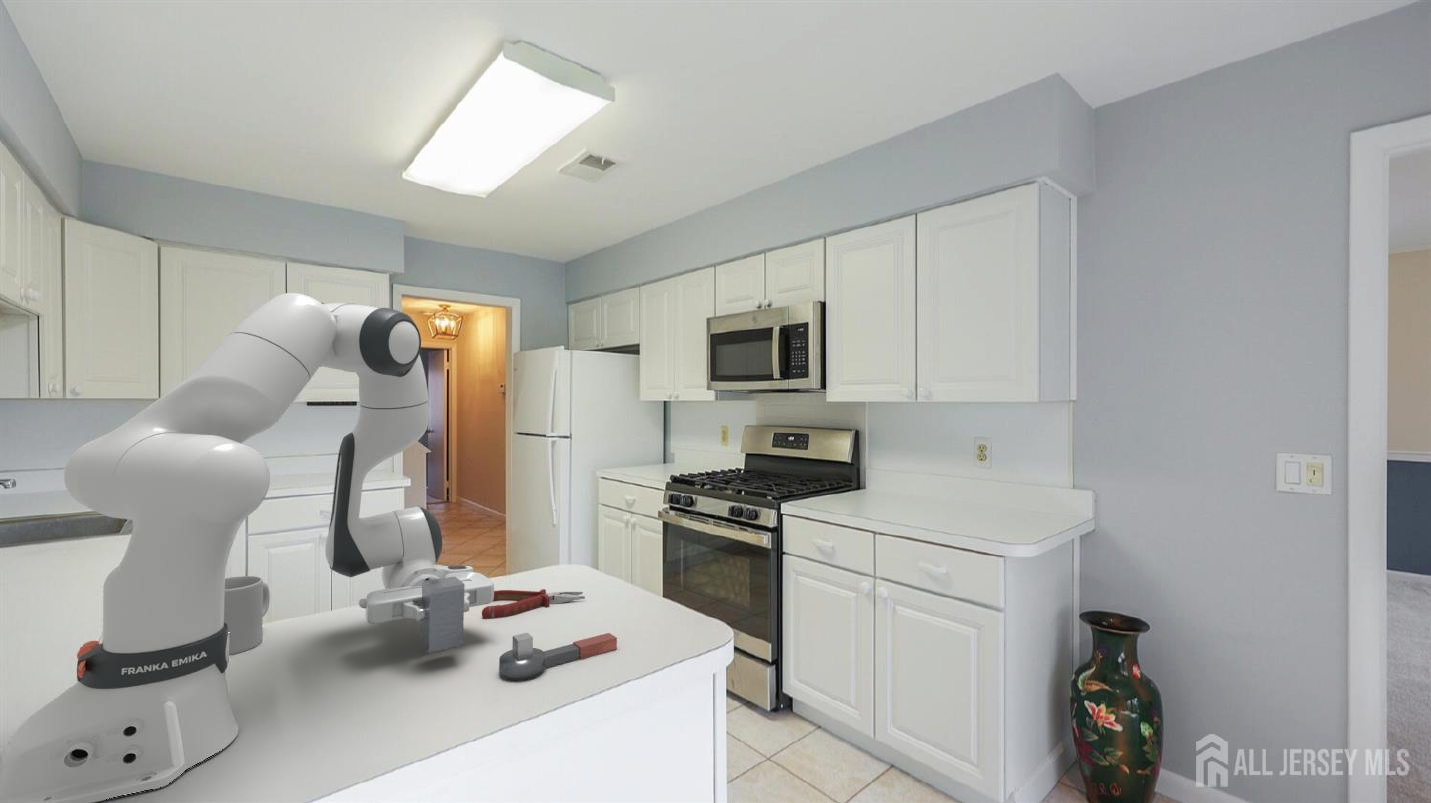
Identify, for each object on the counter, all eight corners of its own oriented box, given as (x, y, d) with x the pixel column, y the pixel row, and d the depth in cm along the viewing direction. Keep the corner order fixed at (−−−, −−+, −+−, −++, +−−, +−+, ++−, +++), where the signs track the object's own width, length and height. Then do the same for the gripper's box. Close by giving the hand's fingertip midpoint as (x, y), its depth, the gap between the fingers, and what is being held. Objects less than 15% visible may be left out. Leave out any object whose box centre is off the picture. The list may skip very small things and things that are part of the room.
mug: (235, 657, 101) (236, 591, 101) (185, 655, 101) (186, 589, 101) (288, 630, 113) (289, 570, 113) (244, 628, 113) (245, 569, 113)
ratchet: (508, 685, 93) (509, 649, 93) (492, 669, 99) (493, 634, 99) (622, 653, 106) (623, 620, 106) (603, 640, 111) (603, 609, 111)
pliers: (589, 609, 128) (589, 596, 128) (481, 622, 120) (481, 608, 120) (578, 592, 139) (579, 580, 139) (479, 603, 131) (479, 590, 131)
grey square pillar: (428, 652, 97) (430, 589, 97) (420, 641, 101) (422, 581, 101) (462, 644, 100) (464, 583, 100) (453, 635, 104) (455, 576, 104)
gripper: (357, 581, 104) (372, 603, 93) (479, 564, 117) (505, 582, 106) (355, 618, 104) (371, 644, 93) (478, 597, 117) (504, 618, 106)
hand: (444, 611), depth 100 cm, fingers closed on grey square pillar, 5 cm apart
